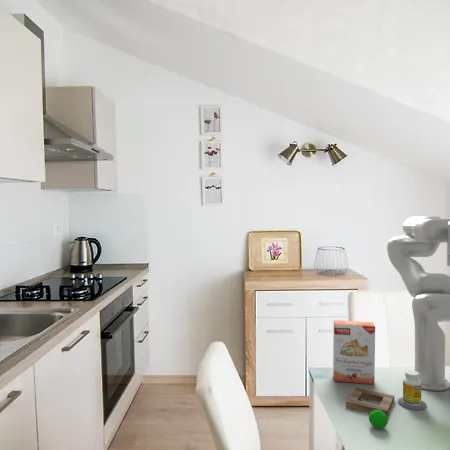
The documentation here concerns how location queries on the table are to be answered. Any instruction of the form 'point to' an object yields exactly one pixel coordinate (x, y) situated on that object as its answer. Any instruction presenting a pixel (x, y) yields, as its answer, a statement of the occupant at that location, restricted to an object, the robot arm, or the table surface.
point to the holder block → (358, 394)
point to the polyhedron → (378, 419)
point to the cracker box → (354, 352)
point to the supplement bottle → (412, 388)
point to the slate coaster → (421, 407)
